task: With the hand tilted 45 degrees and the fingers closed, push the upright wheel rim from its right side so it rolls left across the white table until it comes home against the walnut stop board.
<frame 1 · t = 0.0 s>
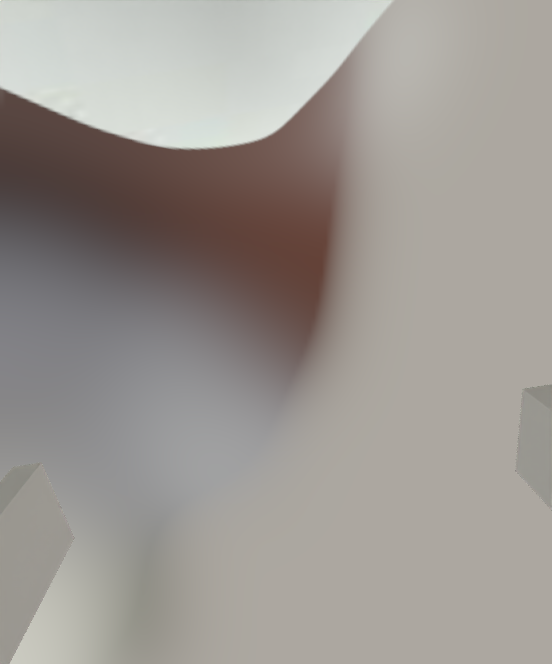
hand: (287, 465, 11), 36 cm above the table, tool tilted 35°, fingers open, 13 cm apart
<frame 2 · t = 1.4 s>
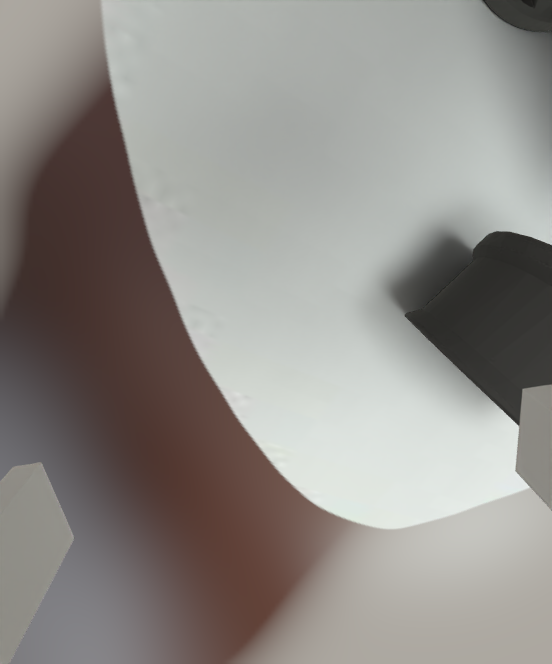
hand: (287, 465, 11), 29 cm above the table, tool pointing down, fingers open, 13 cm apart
wheel rim: (473, 320, 41), on the table
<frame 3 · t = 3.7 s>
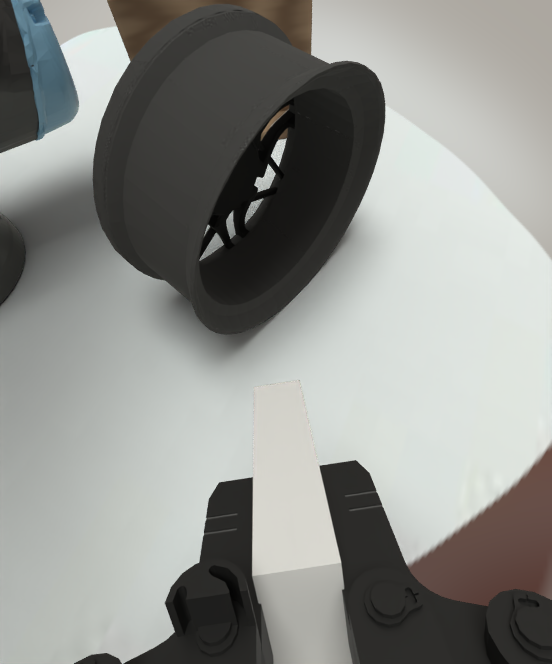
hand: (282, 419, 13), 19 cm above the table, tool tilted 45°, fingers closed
wheel rim: (264, 267, 39), on the table
stop board: (233, 116, 47), on the table
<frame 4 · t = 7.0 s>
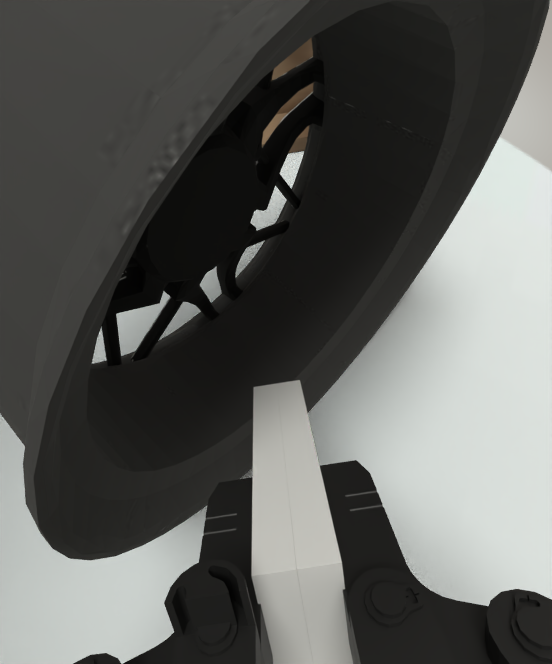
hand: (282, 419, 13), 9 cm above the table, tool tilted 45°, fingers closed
wheel rim: (266, 348, 24), on the table, touching gripper
stop board: (222, 119, 33), on the table
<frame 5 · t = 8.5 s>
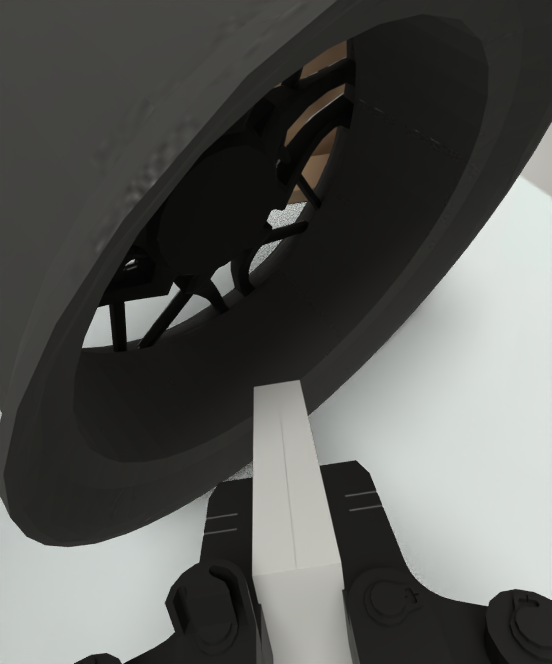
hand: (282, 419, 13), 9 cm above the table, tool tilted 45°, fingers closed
wheel rim: (273, 347, 24), on the table, touching gripper
stop board: (233, 162, 30), on the table
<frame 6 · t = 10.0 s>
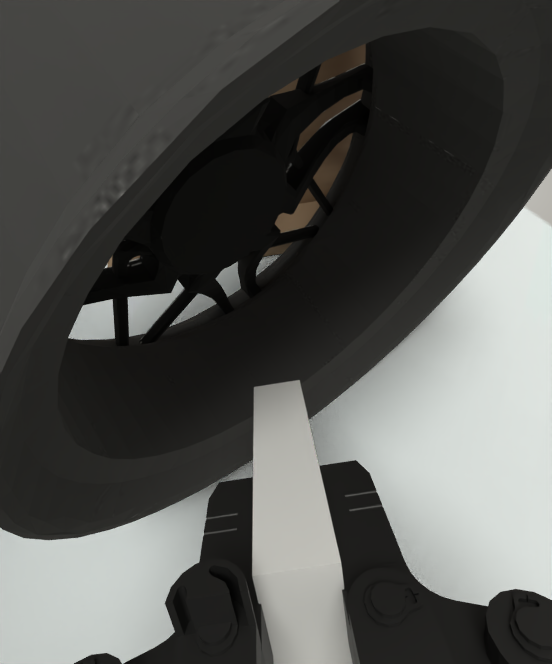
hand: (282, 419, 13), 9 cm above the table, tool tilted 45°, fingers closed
wheel rim: (276, 350, 24), on the table, touching gripper
stop board: (238, 203, 29), on the table
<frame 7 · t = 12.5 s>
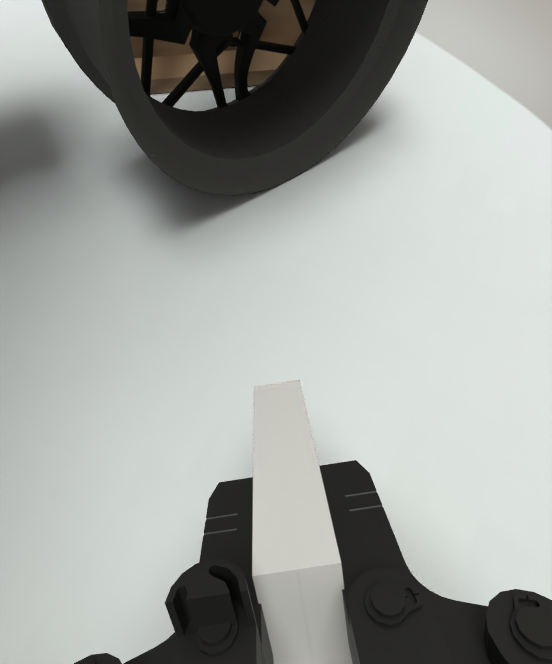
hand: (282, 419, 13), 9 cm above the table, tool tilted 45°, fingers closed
wheel rim: (259, 145, 31), on the table
stop board: (238, 50, 35), on the table
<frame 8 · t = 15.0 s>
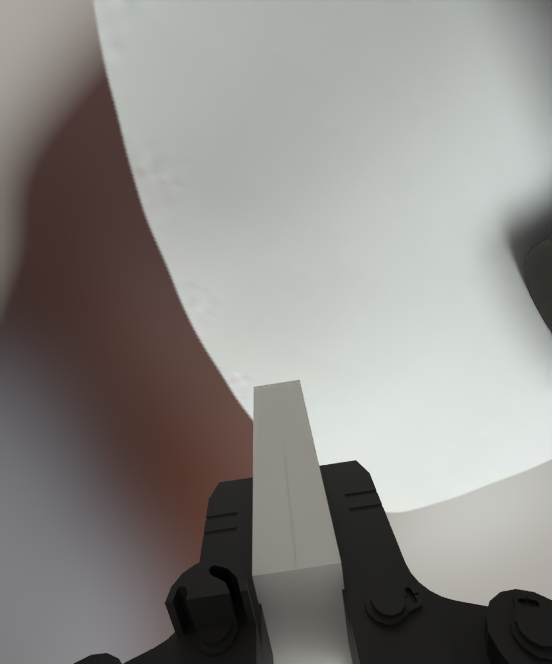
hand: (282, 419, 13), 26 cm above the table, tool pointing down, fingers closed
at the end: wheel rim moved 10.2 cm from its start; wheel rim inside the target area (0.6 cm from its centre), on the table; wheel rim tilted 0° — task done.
